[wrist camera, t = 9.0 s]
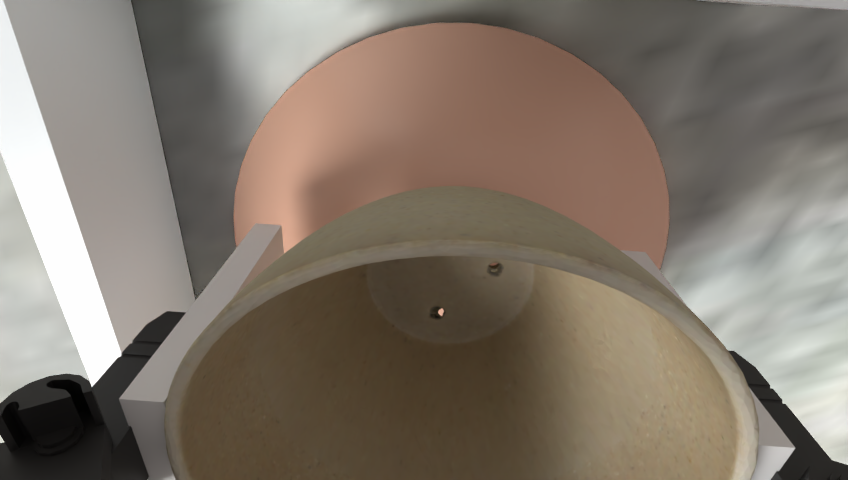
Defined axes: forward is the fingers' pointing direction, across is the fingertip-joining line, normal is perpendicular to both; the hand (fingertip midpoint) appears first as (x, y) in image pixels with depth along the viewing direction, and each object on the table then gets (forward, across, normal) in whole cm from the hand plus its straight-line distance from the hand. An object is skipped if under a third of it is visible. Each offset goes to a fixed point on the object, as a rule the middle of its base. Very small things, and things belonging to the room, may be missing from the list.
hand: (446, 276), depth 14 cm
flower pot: (+1, 0, 0) cm, 1 cm away
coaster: (+2, 0, 0) cm, 2 cm away
